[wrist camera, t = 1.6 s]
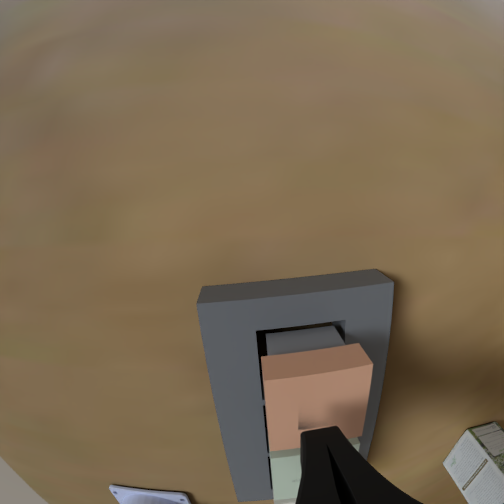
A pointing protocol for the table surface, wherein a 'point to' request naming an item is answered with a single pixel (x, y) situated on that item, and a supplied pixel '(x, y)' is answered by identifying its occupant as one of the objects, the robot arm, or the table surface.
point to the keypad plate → (281, 316)
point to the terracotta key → (313, 385)
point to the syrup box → (479, 464)
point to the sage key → (290, 471)
